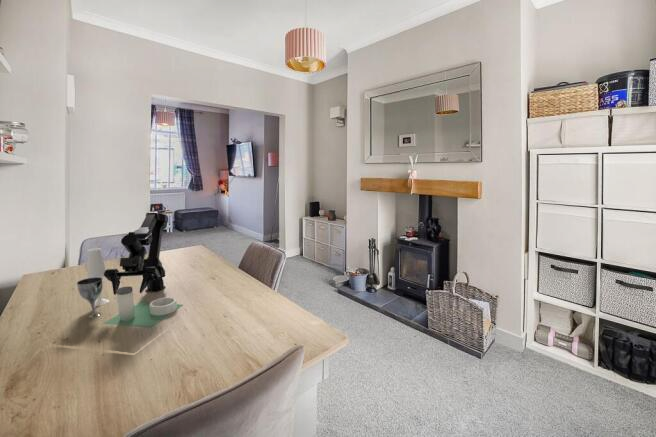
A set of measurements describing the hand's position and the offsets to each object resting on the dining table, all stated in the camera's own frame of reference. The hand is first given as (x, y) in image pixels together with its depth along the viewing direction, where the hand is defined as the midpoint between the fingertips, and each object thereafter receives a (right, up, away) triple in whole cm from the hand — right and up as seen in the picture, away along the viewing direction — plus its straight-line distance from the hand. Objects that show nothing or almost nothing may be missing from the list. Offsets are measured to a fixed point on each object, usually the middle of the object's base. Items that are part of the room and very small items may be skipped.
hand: (127, 293), depth 126 cm
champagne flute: (-21, -8, +15) cm, 27 cm away
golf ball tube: (0, -9, -1) cm, 10 cm away
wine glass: (-14, -10, +2) cm, 18 cm away
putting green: (+5, -9, +4) cm, 11 cm away
